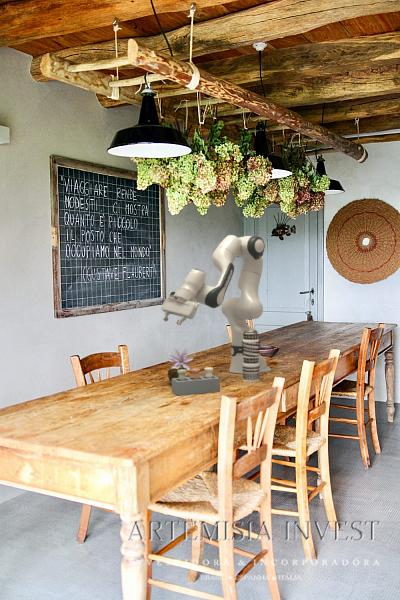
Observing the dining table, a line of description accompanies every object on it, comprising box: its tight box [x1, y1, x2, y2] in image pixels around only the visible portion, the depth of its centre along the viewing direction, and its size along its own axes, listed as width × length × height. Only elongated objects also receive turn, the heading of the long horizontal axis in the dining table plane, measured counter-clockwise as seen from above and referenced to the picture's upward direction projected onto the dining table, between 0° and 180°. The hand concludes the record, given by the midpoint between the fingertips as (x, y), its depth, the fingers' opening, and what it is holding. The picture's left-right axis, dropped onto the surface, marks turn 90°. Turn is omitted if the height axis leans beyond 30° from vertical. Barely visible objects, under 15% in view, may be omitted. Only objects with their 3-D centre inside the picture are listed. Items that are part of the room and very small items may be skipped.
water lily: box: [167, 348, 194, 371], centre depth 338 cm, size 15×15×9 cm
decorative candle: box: [242, 328, 261, 383], centre depth 303 cm, size 9×9×25 cm
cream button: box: [203, 366, 214, 379], centre depth 282 cm, size 4×4×7 cm
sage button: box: [178, 368, 187, 381], centre depth 277 cm, size 4×4×7 cm
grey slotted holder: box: [171, 374, 221, 396], centre depth 280 cm, size 20×9×6 cm, turn 111°
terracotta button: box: [190, 367, 201, 380], centre depth 279 cm, size 4×4×7 cm
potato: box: [167, 367, 180, 382], centre depth 298 cm, size 8×13×8 cm, turn 148°
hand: (171, 322), depth 294 cm, fingers open, 8 cm apart
